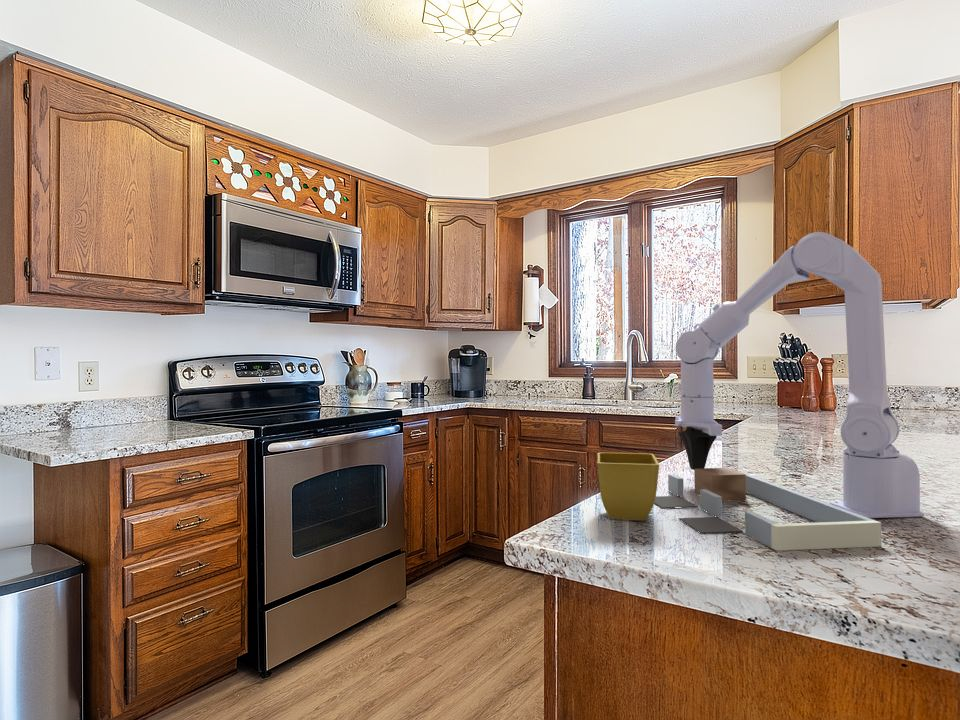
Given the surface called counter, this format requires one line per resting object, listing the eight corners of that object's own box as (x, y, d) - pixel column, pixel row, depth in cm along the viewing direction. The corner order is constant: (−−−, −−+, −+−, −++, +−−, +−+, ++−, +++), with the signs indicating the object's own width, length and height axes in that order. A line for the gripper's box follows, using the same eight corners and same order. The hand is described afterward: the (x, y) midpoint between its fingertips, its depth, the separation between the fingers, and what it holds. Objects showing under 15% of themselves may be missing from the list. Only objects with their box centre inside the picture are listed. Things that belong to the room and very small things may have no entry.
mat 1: (679, 496, 98) (679, 495, 98) (698, 507, 91) (698, 506, 91) (645, 497, 97) (645, 496, 97) (662, 508, 90) (662, 507, 90)
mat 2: (717, 518, 85) (717, 516, 85) (743, 532, 78) (743, 530, 78) (678, 519, 84) (678, 518, 84) (701, 533, 78) (701, 532, 78)
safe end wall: (875, 543, 73) (875, 520, 73) (881, 546, 72) (881, 522, 72) (771, 548, 72) (771, 524, 72) (776, 550, 71) (776, 526, 71)
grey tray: (742, 488, 104) (742, 472, 104) (875, 543, 73) (875, 520, 73) (668, 490, 102) (668, 474, 102) (771, 548, 72) (771, 524, 72)
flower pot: (660, 526, 81) (659, 463, 81) (597, 523, 83) (597, 462, 83) (654, 510, 90) (653, 453, 90) (597, 507, 92) (597, 452, 92)
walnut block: (726, 492, 101) (726, 467, 101) (746, 501, 95) (745, 474, 95) (694, 494, 101) (694, 468, 101) (712, 502, 95) (712, 475, 95)
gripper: (660, 394, 113) (660, 462, 113) (694, 399, 98) (694, 478, 99) (694, 393, 114) (694, 461, 114) (733, 399, 99) (733, 477, 99)
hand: (697, 469), depth 106 cm, fingers closed
